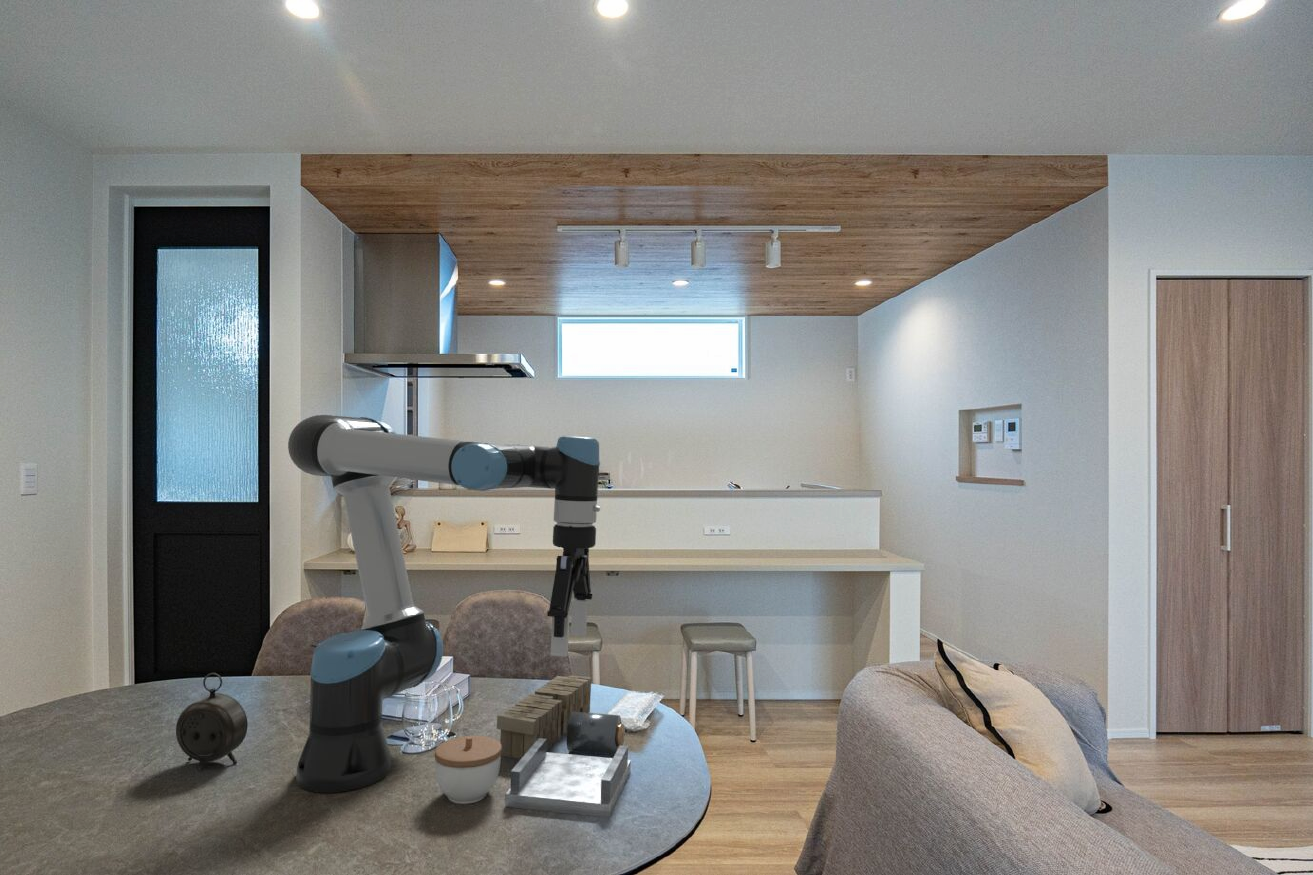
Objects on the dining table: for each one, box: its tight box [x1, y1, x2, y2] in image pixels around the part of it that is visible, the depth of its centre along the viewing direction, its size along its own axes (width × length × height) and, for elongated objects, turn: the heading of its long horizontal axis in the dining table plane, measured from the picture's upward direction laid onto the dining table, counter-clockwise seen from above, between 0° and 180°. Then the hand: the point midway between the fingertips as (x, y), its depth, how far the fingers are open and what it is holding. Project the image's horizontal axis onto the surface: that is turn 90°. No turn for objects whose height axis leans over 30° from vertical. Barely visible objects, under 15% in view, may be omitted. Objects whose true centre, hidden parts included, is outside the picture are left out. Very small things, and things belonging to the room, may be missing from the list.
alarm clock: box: [175, 672, 249, 771], centre depth 128 cm, size 11×5×16 cm, turn 85°
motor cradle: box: [504, 712, 632, 819], centre depth 127 cm, size 17×28×7 cm, turn 171°
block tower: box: [496, 674, 592, 759], centre depth 146 cm, size 8×8×29 cm
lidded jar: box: [434, 735, 502, 805], centre depth 119 cm, size 11×11×9 cm
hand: (569, 645), depth 127 cm, fingers open, 13 cm apart
